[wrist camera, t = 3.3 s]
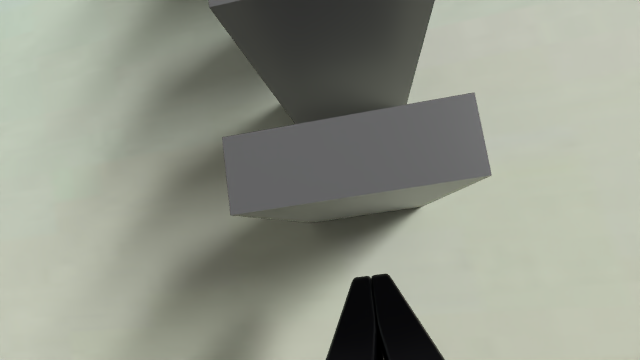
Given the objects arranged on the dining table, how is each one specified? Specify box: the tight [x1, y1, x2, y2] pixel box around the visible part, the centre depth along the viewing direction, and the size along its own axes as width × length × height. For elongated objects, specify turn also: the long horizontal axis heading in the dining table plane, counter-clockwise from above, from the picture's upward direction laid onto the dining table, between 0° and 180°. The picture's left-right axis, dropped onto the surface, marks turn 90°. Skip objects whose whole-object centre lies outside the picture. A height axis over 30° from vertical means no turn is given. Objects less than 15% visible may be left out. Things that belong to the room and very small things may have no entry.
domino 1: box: [208, 0, 435, 124], centre depth 13 cm, size 2×5×10 cm, turn 98°
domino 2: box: [222, 93, 491, 223], centre depth 12 cm, size 2×5×10 cm, turn 98°
